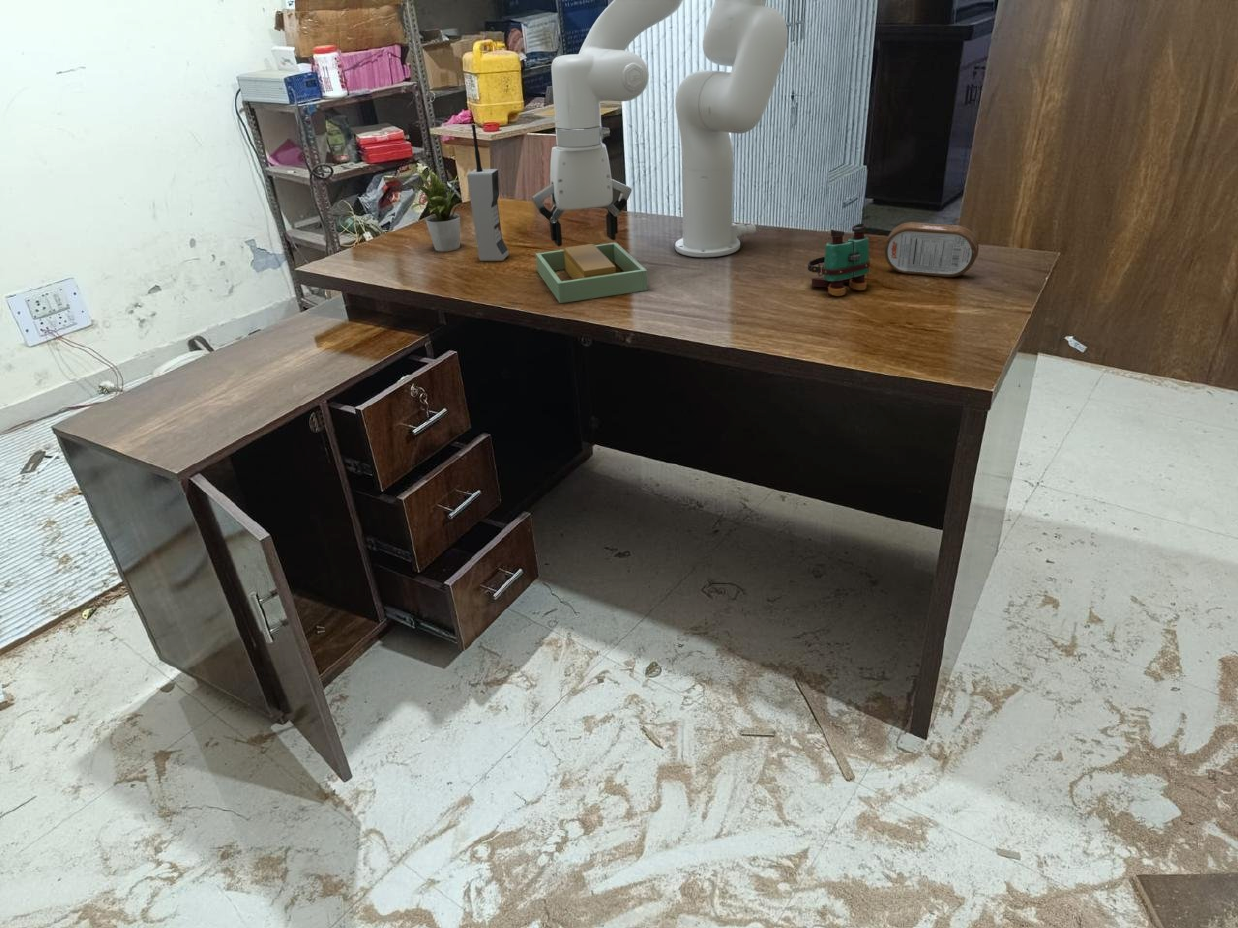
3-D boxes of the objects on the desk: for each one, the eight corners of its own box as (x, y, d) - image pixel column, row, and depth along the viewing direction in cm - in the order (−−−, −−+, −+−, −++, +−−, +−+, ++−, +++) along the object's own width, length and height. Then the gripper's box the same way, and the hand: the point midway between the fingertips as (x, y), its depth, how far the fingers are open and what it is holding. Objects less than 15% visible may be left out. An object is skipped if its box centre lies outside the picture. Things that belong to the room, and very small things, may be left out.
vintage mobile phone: (503, 261, 163) (485, 125, 151) (479, 261, 164) (459, 126, 152) (509, 255, 167) (492, 122, 154) (485, 255, 168) (466, 122, 155)
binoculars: (838, 217, 142) (880, 223, 134) (837, 279, 146) (878, 288, 138) (796, 226, 139) (836, 233, 130) (796, 289, 143) (835, 299, 135)
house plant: (393, 251, 174) (377, 169, 166) (445, 234, 183) (433, 156, 174) (437, 261, 166) (422, 176, 157) (489, 244, 175) (478, 162, 166)
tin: (974, 275, 142) (982, 225, 138) (972, 281, 140) (981, 230, 135) (883, 267, 148) (888, 219, 144) (880, 273, 145) (885, 224, 141)
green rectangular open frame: (617, 260, 160) (616, 242, 158) (647, 290, 145) (646, 270, 143) (537, 272, 157) (535, 253, 155) (560, 303, 141) (558, 283, 139)
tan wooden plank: (594, 266, 158) (592, 243, 155) (617, 291, 145) (615, 266, 143) (565, 271, 156) (563, 247, 154) (585, 295, 144) (583, 270, 142)
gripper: (622, 130, 143) (625, 230, 152) (523, 139, 139) (532, 241, 148) (635, 136, 137) (638, 241, 146) (532, 146, 133) (541, 252, 142)
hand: (584, 241), depth 147 cm, fingers open, 9 cm apart
